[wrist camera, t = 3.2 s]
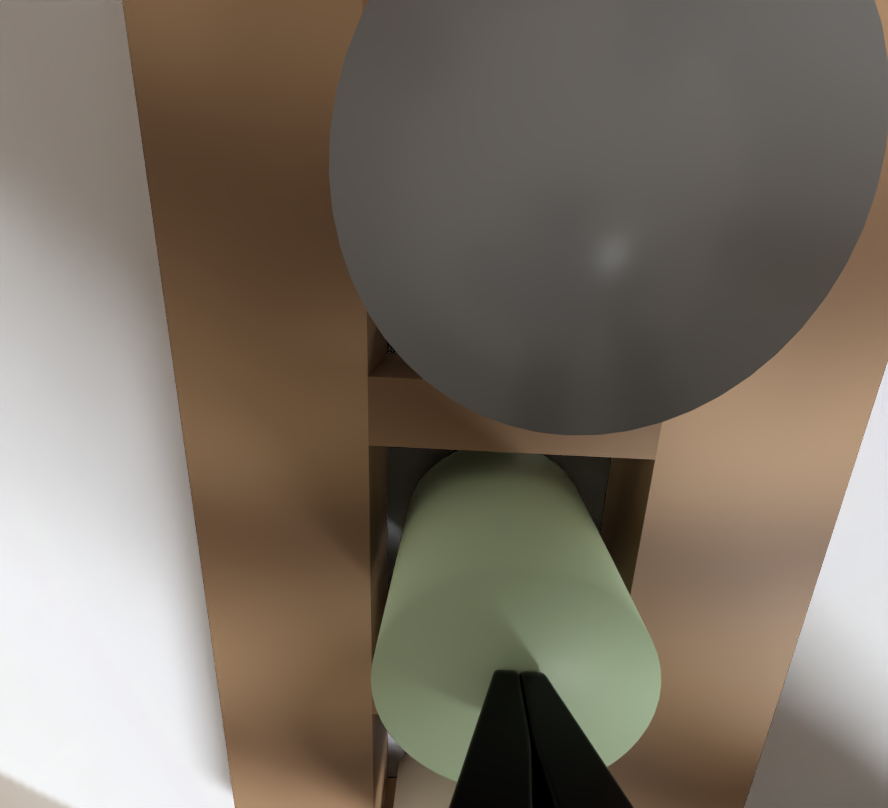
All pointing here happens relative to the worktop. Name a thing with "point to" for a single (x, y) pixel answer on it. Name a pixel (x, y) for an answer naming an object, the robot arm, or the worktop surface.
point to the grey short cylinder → (602, 192)
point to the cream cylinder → (421, 786)
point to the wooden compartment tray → (444, 438)
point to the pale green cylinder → (506, 610)
